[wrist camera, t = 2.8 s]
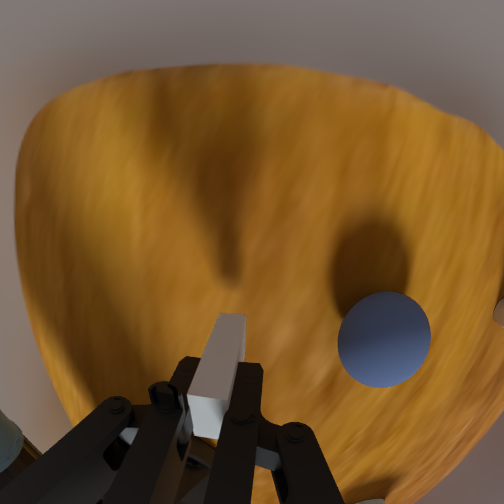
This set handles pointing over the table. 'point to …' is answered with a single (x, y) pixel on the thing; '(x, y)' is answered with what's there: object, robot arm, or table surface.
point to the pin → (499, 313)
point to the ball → (384, 339)
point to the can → (371, 501)
